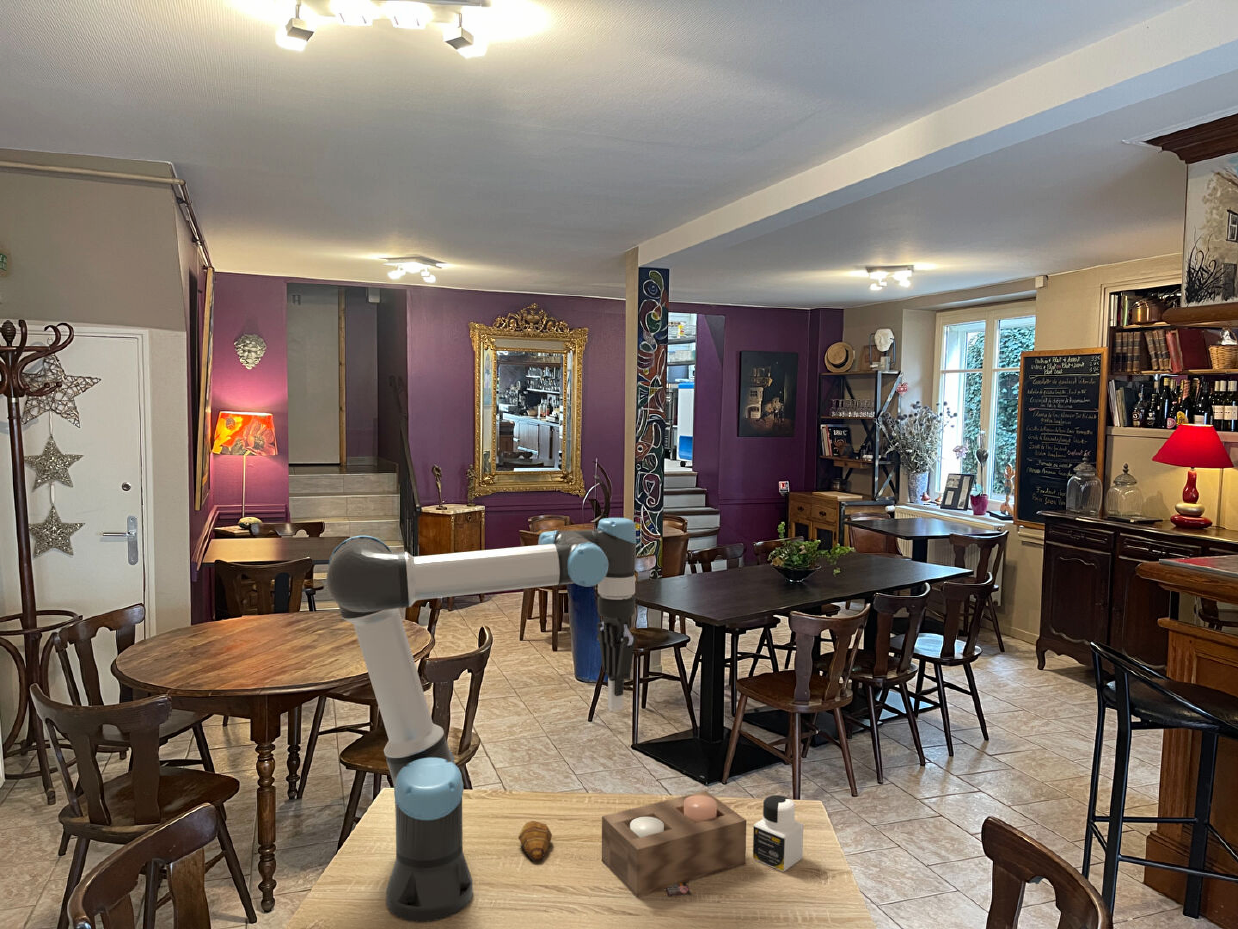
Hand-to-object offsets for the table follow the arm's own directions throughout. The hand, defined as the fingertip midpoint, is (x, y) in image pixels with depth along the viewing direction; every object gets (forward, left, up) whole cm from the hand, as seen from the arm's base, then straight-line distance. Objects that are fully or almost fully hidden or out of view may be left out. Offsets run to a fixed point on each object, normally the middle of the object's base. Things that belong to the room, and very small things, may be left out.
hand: (615, 709), depth 178 cm
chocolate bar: (+2, -20, -27) cm, 34 cm away
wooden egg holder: (+5, -15, -26) cm, 31 cm away
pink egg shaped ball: (+11, -15, -24) cm, 30 cm away
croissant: (-16, +3, -27) cm, 32 cm away
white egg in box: (-1, -15, -25) cm, 30 cm away
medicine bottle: (+24, -23, -27) cm, 43 cm away
